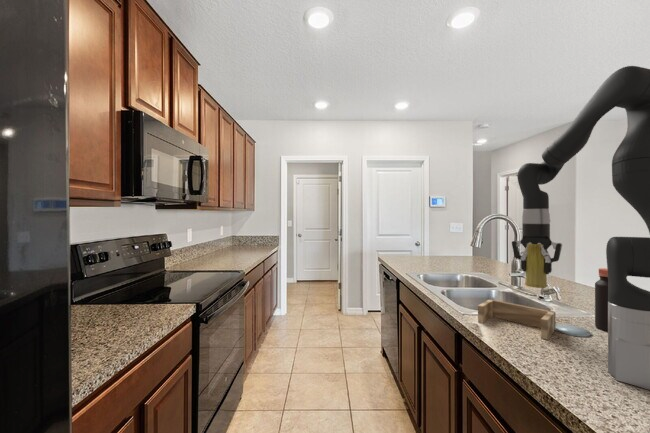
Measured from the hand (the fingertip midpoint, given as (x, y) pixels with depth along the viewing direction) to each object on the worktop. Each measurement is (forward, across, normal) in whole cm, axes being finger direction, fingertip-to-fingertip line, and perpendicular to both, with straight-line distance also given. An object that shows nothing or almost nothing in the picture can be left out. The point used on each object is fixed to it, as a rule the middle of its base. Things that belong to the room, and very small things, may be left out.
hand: (536, 272), depth 98 cm
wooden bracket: (+19, -6, -2) cm, 20 cm away
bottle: (+19, +17, +17) cm, 31 cm away
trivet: (+19, +8, +6) cm, 22 cm away
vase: (+5, 0, 0) cm, 5 cm away
